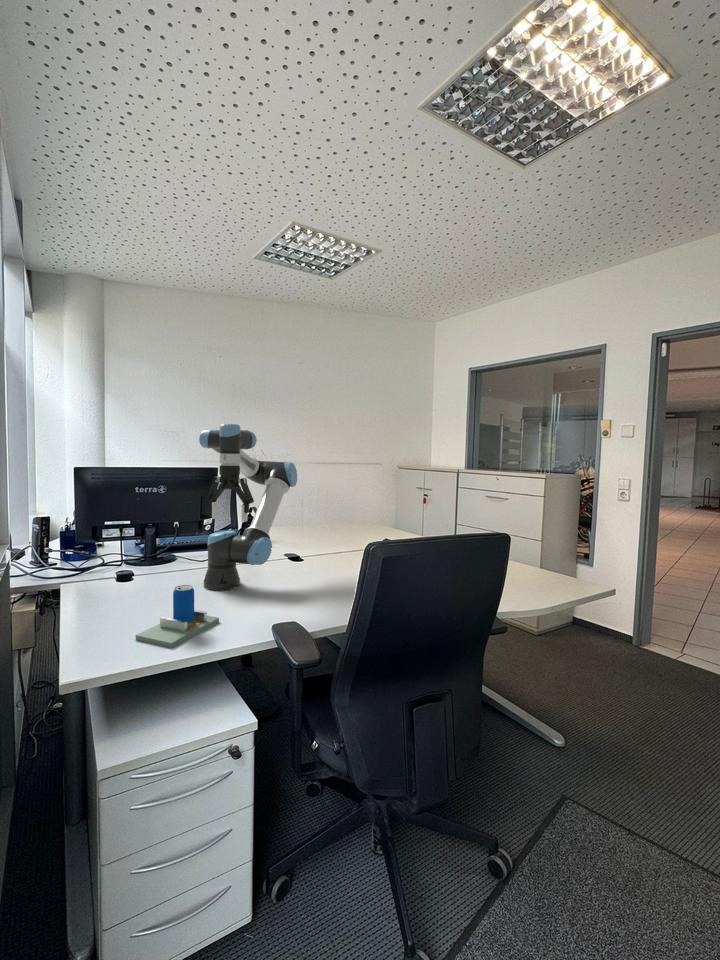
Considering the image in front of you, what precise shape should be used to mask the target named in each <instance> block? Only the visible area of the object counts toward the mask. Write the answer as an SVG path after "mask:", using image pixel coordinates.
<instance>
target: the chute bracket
mask: <svg viewBox="0 0 720 960" xmlns="http://www.w3.org/2000/svg"><path fill="white" fill-rule="evenodd" d="M207 613H208V612H207V611H203V610H199V609H198V610H197V609H194V621H193V622H192V623H191V624H190V625H187V621H182V620H177V619H172V618H173V617H172V618H171V617H168V616H167V617H166V616H161V617H160V618H159V624H160V627H162V628H167V629H172V630H177V631H181V632H186V631H188V630H190V629H192V628H194V627H196V626H198V625H199V624H201V623H203V622H205V621H207V616H208V614H207Z"/></svg>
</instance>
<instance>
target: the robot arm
mask: <svg viewBox="0 0 720 960" xmlns="http://www.w3.org/2000/svg"><path fill="white" fill-rule="evenodd" d="M198 437H199V438H198V440H199V444H200V446H201V447H202V448H204V449H212V450H214V451H215V452H216V453H218V454H219V464H220V465H219V475H220V476H213V477H212V483H211V486H210V487H209V490H208V493H207V495H206V498H205V499H206V500H207V501H209V503H210V510H211V519H212V520H216V519H219V501H218V499H219V497H221V495H222V494H223V493H224V491H225V490H232V491H234V492H235V494H236V495H237V496H238V498H239V499H240V501H241V502H242V504H241V523H244V522H245V523H246V522H248V513H250V505H251V504H253V503H254V502H255V499H254V498H253V495H252V492H251V490H250V487H249V485H248V480H250V481H252V482H254V483H256V484H258V485H262V486H265V489H264V491H263V493H262V497H261V499H260V502H259V504H258V506H257V509H256V511H255V514H254V516H253V518H252V521H251V523H250V526H249V527H247V528H246V527H245V529H244V531H243V532H242V533H243V534H242V535H240V534H237V531H236V530H224V531H217V532H214V533H211V534H209V536H208V537H207V543H206V544H207V545H206V546H207V569H206V573H205V575H204V579H203V588H204V589H207V590H211V591H226V590H232V589H235V588H237V587H239V586H240V585H241V577H240V575H239V572H238V569H237V564H243V565H244V564H245V565H250V566H261V565H263V564H265V563H266V562H267V561H268V560H269V558H270V557H271V554H272V551H273V550H272V548H273V542H272V540H271V536H270V530H271V529H272V525H273V523H274V521H275V518H276V514H277V512H278V510H279V507H280V505H281V502H282V500H283V497H284V495H285V494H287V493H288V492H289V491H290V487H291V488H293V487H296V485H297V483H298V472H297V471H298V470H297V468H296V465H295V464H294V463H293V462H289V461H267V460H258V459H257V458H255V457H251V456H250V455H249V454H248V453H246V452H245V451H244V450H250V449H253V448H254V447H255V446H256V444H257V443H258V442H257V436H256V434H255V433H254V432H253V431H252V430H248V429H246V430H244V429H243V430H242V429H241V426H240V425H239V424H236V423H235V424H234V423H221V424H220V426H219V429H204V430H202V431H201V432H200V433H199V436H198ZM240 475H243V476H244V477H241V478H240ZM247 479H248V480H247Z"/></svg>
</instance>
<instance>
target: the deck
mask: <svg viewBox="0 0 720 960" xmlns="http://www.w3.org/2000/svg"><path fill="white" fill-rule="evenodd" d="M172 619H173V617H172ZM219 622H220V617H217V616H211V615H207V621H205V622H203V623H201V624H199V625H198V626H196V627H194V628H192V629H190V630H188V631H186V632H181V631H177V630H172V629H167V628H162V627H160V623H159V624H156V625H154V626H152V627H150V628H148V629H146V630H144V631H141V632H138V633H137V634H135V641H139V642H143V643H149V644H152V645H157V646H161V647H166V648H169V649H172V648H174V647H176V646H178V645H179V644H181V643H183V642H185V641H187V640H189V639H190V638H192V637H194V636H196V635H198V634H200V633H202V632H203V631H205V630H208V628H211V627H212V626H215V625H216V624H218V623H219Z"/></svg>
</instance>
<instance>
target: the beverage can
mask: <svg viewBox="0 0 720 960" xmlns="http://www.w3.org/2000/svg"><path fill="white" fill-rule="evenodd" d="M172 592H173V593H172V608H173V609H172V613H173V614H172V618H173V619H177V620H182V621H187V625H190V624H191V623H192V622H193V621H194V610H195V589H194V586H193V585H191V584H190V585H189V584H181V585H177V586H175V587H174V590H173V591H172Z"/></svg>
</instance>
